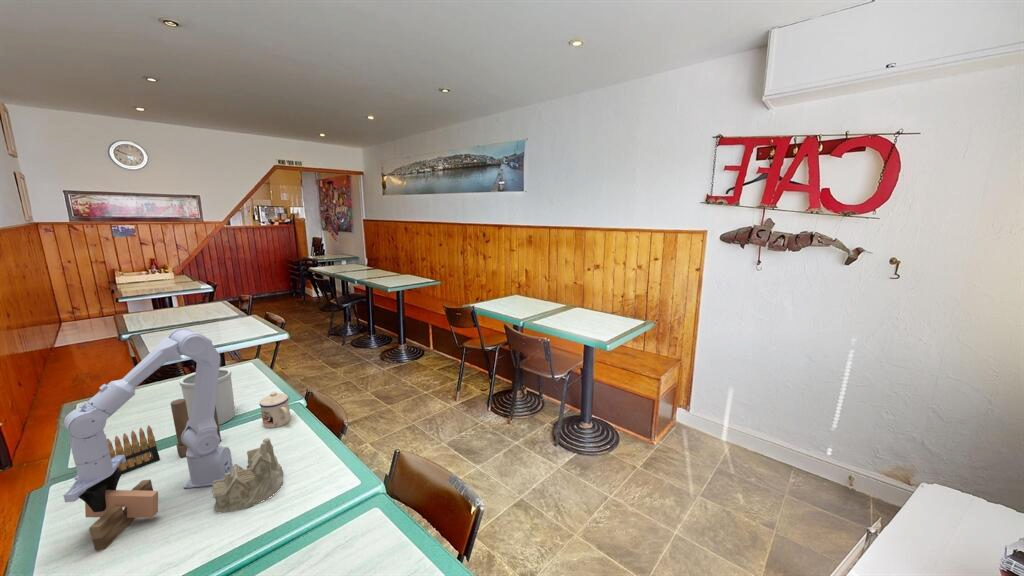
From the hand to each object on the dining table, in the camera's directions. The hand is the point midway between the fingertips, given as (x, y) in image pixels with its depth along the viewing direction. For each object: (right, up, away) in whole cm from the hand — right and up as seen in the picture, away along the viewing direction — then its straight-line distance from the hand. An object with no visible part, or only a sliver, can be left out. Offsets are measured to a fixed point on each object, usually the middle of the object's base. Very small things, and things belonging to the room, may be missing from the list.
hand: (104, 506), depth 95 cm
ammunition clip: (-14, -1, +23) cm, 27 cm away
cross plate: (+3, -3, +1) cm, 4 cm away
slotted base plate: (+4, -5, +2) cm, 6 cm away
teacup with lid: (+15, +4, +47) cm, 50 cm away
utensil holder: (-12, +4, +50) cm, 51 cm away
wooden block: (-2, +1, +32) cm, 33 cm away
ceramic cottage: (+27, -3, +14) cm, 30 cm away
